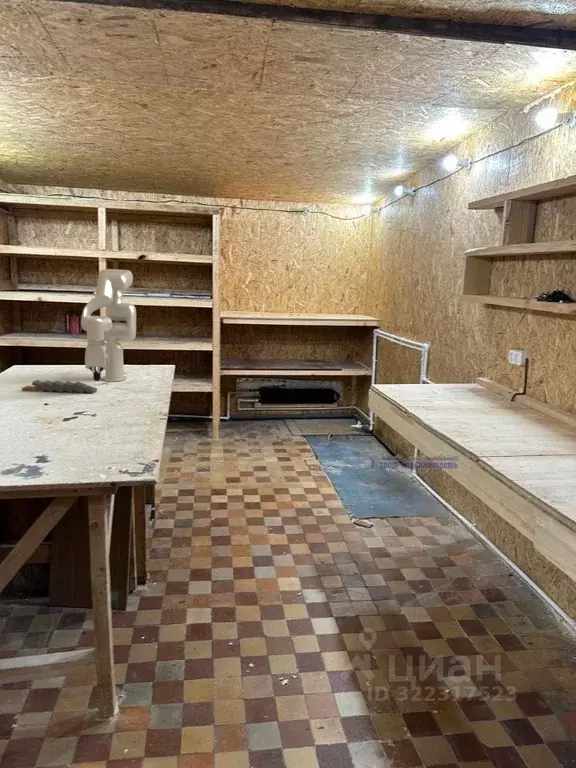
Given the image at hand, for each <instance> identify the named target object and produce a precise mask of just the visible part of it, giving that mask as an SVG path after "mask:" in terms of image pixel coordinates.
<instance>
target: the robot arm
mask: <svg viewBox="0 0 576 768" xmlns="http://www.w3.org/2000/svg"><path fill="white" fill-rule="evenodd" d="M133 282H134V277H133V273H132V271H130V270H128V269H115V268H113V269H111V268H104V269H101V270H100V271H99V272H98V278H97V284H96V288H95V295H94V296H95V297H93V298H92V299H90V300H89V302H87V303H86V304H85V306H84V307H83V310H82V314H81V319H80V325H81V326H80V327H81V328H82V330H84V331H86V335H87V336H86V338H87V339H86V341H87V345H86V346H85V352H84V354H85V355H84V366H85V369H87V370H89V371H91V372H92V375H93V376H92V377H93V379H94V382H99V381H100V380H101V377H102V376H101V375H102V372H103V371H105V376H103V377H102V380H103V381H105V382H123V381H126V380H127V378H128V377H127V376H125V375H124V374H125V373H124V348H123V346H122V344H121V343H120V341H128V342H129V341H133V340H135V339H136V335H137V308H136V307H135V305H134V304H133V303H128V302H123V293H122V291H125V290H127V289H129V288H130V287H131V286H132V284H133ZM104 307H105V315H103V316H102V315H92V314H93V312H95V311H97V310H100V309H102V308H104ZM113 321H126V322H113Z"/></svg>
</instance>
